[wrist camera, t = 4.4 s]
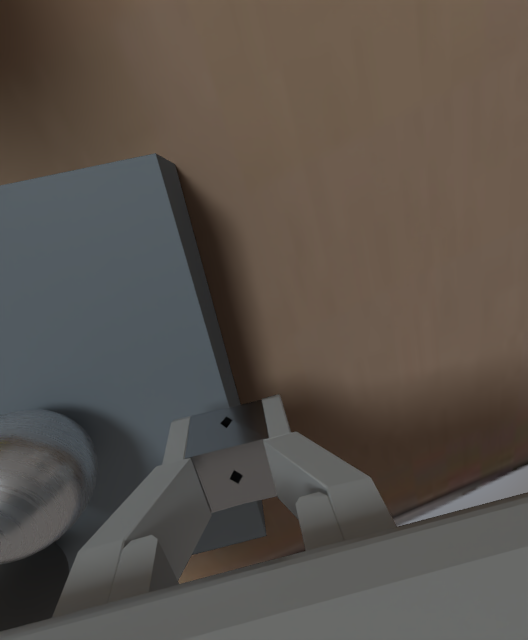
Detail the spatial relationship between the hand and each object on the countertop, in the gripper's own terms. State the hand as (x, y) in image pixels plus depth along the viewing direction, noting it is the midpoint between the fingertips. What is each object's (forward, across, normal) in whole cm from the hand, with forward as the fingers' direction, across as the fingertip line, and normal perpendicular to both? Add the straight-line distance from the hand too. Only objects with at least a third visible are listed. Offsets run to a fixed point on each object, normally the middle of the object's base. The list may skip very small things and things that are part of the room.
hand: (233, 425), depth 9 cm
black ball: (0, +8, +4) cm, 9 cm away
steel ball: (0, +6, 0) cm, 6 cm away
